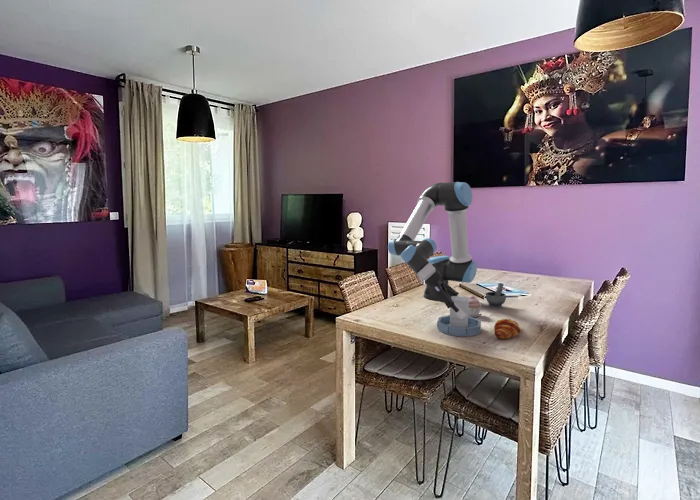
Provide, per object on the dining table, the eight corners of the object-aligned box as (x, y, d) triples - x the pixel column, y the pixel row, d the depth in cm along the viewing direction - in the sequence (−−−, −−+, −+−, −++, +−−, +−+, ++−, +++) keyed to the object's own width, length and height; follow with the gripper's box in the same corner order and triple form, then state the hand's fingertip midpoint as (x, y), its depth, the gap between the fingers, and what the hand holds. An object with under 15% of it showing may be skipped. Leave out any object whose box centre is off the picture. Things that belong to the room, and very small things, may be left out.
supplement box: (468, 325, 173) (469, 296, 171) (467, 330, 166) (468, 301, 164) (450, 323, 175) (451, 295, 174) (449, 328, 169) (449, 299, 167)
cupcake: (472, 319, 183) (473, 298, 182) (457, 314, 191) (457, 294, 190) (486, 316, 188) (486, 295, 187) (470, 311, 196) (471, 291, 195)
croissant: (508, 333, 175) (500, 316, 176) (530, 327, 169) (522, 309, 170) (490, 347, 158) (482, 328, 160) (514, 340, 152) (505, 320, 154)
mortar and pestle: (499, 311, 197) (500, 287, 195) (481, 307, 203) (482, 284, 202) (509, 306, 204) (511, 283, 202) (492, 303, 211) (493, 281, 209)
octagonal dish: (440, 320, 182) (440, 313, 182) (481, 324, 176) (481, 317, 175) (434, 333, 165) (434, 325, 165) (480, 338, 159) (480, 330, 159)
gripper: (428, 275, 185) (460, 309, 182) (418, 287, 161) (455, 326, 158) (440, 264, 182) (473, 299, 179) (432, 275, 159) (469, 315, 156)
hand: (465, 312), depth 169 cm, fingers open, 13 cm apart
